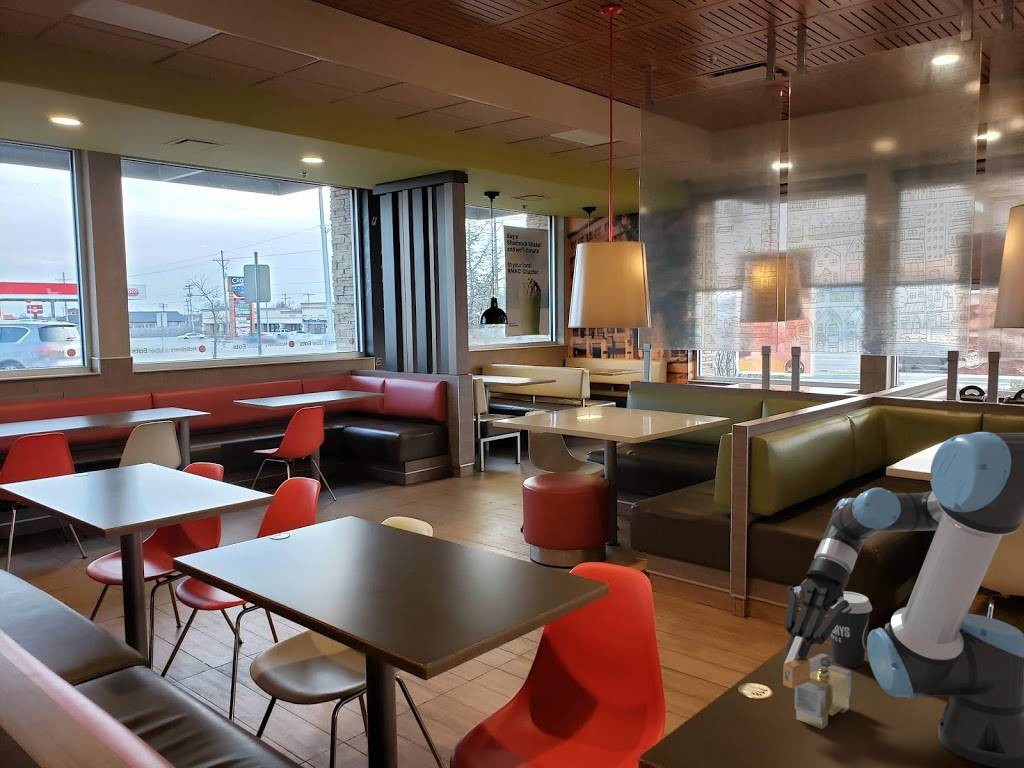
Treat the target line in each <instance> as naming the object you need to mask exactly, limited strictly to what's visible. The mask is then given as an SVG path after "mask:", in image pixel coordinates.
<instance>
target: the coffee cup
mask: <svg viewBox="0 0 1024 768" xmlns="http://www.w3.org/2000/svg"><path fill="white" fill-rule="evenodd" d="M843 595H844V600H847V601H848V603H849V604H850V606H851V608H852V610H851V611H850V612H849V613H847V614H846V615H844V616H843V617H842V619H841V620H840V621H839V623H838V624H837V625H836V627H835V628H834V630H833V631H832V632H831V634H830V638H831V639H830V640H831V649H832V650H831V651H832V658H833V659H832V661H834V662H835V663H836V664H838V665H840V664H841V665H840V666H843V665H845V666H844V667H848V666H850V667H849V668H857V667H858V666H859V667H862V666H863V665H864V663H865V662H864V661H865V654H866V648H867V639H868V630H869V621H870V619H869V618H870V612H872V610H873V607H872V605H871V602H870V599H869V597H867V596H866V595H864V594H861V593H858V592H854V591H845V590H844V591H843ZM835 606H836V604H835V605H834V606H832V607H831V608H829V610H828V613H829V614H830V612H831V611H832V609H833V608H834V607H835ZM859 667H858V668H859Z"/></svg>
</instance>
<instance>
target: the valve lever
mask: <svg viewBox="0 0 1024 768" xmlns="http://www.w3.org/2000/svg"><path fill="white" fill-rule="evenodd" d="M784 663H785V662H784ZM784 663H783V665H782V666H783V668H782V671H783V672H782V680H783V681H782V685H783V686H785V687H788V688H789V689H795V687H797V686H799V685H801V684H804V683H806V682H808V681H810V673H811V672H814V671H816V670H818V669H819V671H821V672H828V668H829V666H832V665H833V656H831V655H829V654H826V653H817V654H815V655H814V656H813V657H810V658H809V659H808V658H802V657H800V658H797V659H795V660H792V661H790V662H788V663H785V664H784Z"/></svg>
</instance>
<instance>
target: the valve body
mask: <svg viewBox="0 0 1024 768" xmlns="http://www.w3.org/2000/svg"><path fill="white" fill-rule="evenodd" d="M851 690H852V670H849V669H845V668H843V667H840V666H836V665H833V664H832V666H829V668H828V672H821V671H819V669H818V670H816V671H814V672H811V673H810V681H808V682H806V683H804V684H801V685H799V686H797V687H795V688H794V704H793V705H794V710H796V712H795V713H796V716H795V719H796V720H797V721H800V722H801V723H802V722H803V723H806V724H808V725H811V726H813V727H816V728H819V729H821V730H823V729H824V728H827V726H828V725H829V716H832V717H833V716H835V715H836V714H837V713H838V712H839V713H842V714H845V713H846V712H847V711H849V707H850V703H849V702H850V697H851V696H852V695H851V693H852V691H851Z"/></svg>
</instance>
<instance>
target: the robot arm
mask: <svg viewBox="0 0 1024 768" xmlns="http://www.w3.org/2000/svg"><path fill="white" fill-rule="evenodd" d="M929 474H930V475H931V476H932V477H931V479H930V486H931V490H929V491H927V492H913V493H910V492H909V493H907V492H906V493H905V492H904V493H893V491H890V490H888V489H885V488H883V487H873V488H870V489H868V490H866V491H863V493H860V494H858V496H856V497H848V498H846V497H844V498H841V499H840V500H839V501H838V502H837V504H836V506H835V508H833V510H832V512H831V516H830V517H831V518H830V519H829V522H828V524H827V526H826V529H825V531H824V534H823V536H822V538H821V541H820V543H819V546H818V547H817V549H816V552H815V554H814V559H813V560H812V561H811V564H810V565H809V566H810V567H809V568H808V571H807V574H806V577H805V579H804V580H803V581H801V583H800V585H799V586H798V585H797V586H795V587H793V585H788V586H787V587H786V588H787V589H786V590H787V593H788V600H787V606H786V615H785V621H784V622H785V623H784V629H785V631H786V632H787V634H788V635H790V637H789V640H788V643H787V645H786V652H787V653H788V654H787V657H786V658H785V661H784V663H783V664H785V663H788V662H790V661H792V660H795V659H797V658H800V657H802V658H805V659H807V657H808V654H809V652H810V650H811V648H812V645H814V644H815V645H816V644H818V645H820V646H821V645H822V646H823V644H824V643H825V642H826V641H827V640H828V638H829V636H831V632H832V631H833V630H834V628H835V627H836V625H837V624H838V623H839V621H840V620H841V619H842V617H843V616H844V615H846V614H847V613H849V612H850V611H851V610H852V608H851V606H850V604H849V603H848V601H847V600H844V595H843V591H845V590H846V587H847V585H848V582H849V580H850V575H851V573H852V572H853V569H854V567H855V564H856V561H857V559H858V556H859V554H860V552H861V549H862V547H863V544H864V543H865V541H866V540H867V539H869V538H871V537H872V536H874V535H876V534H878V533H893V532H897V533H898V532H899V533H900V532H916V531H917V532H918V531H919V532H924V531H928V532H929V531H932V532H933V531H935V532H934V535H933V537H932V541H931V543H930V546H929V549H928V551H927V553H926V556H925V559H924V561H923V564H922V565H921V569H920V571H919V574H918V577H917V579H916V582H915V584H914V587H913V589H912V591H911V594H910V597H909V599H908V602H907V605H906V606H905V607H901V608H900V609H898V610H896V611H895V612H894V613H893V615H892V616H891V619H890V621H889V622H888V623H889V626H888V627H887V628H886V629H885V628H882V627H878V628H875V629H872V630H871V631H869V633H868V634H867V638H866V650H867V651H866V652H867V657H868V660H869V665H870V668H871V671H872V673H873V676H874V678H875V679H876V681H877V683H878V684H879V686H880V688H882V689H883V691H885V693H887V694H888V695H890V696H893V697H895V698H897V697H898V698H908V699H913V698H918V697H937V696H938V697H939V696H940V697H943V696H949V699H948V701H947V704H945V708H944V710H943V712H942V715H941V718H940V719H939V722H938V728H937V729H938V730H937V733H938V734H937V737H938V740H939V742H940V743H941V745H943V747H944V748H945V749H947V750H948V751H950V752H951V753H953V754H954V755H957V756H959V757H960V758H963V759H965V760H968V761H970V762H972V763H976V764H979V765H983V766H987V767H992V768H1024V632H1023V631H1021V630H1020V629H1018V628H1017V627H1015V626H1013V625H1012V624H1009V623H1007V622H1004V621H1001V620H998V619H995V618H993V617H992V618H991V617H989V616H984V615H979V614H974V613H969V611H970V608H971V606H972V604H973V602H974V600H975V597H976V595H977V593H978V591H979V589H980V587H981V585H982V582H983V580H984V577H985V576H986V574H987V570H989V569H988V568H989V567H990V564H991V562H992V560H993V557H994V555H995V553H996V551H997V549H998V547H999V544H1000V542H1001V540H1002V537H1003V536H1007V535H1011V534H1013V533H1016V532H1017V530H1019V528H1020V527H1021V525H1022V522H1023V521H1024V432H998V433H997V432H996V433H995V432H994V433H993V432H989V431H977V432H972V433H967V434H966V433H964V434H963V433H962V434H958V435H954V436H952V437H950V438H949V439H947V440H945V441H944V442H943V443H942V444H941V445H940V446H939V447H938V449H937V451H936V452H935V453H934V456H933V458H932V461H931V465H930V473H929ZM802 595H803V601H802V606H801V609H800V611H799V604H800V603H799V602H800V601H799V599H801V596H802ZM835 604H836V606H835V607H834V608H833V609H832V611H831V612H830V613H829V608H831V607H832V606H834V605H835ZM798 611H799V613H798ZM828 613H829V614H828ZM827 614H828V615H827ZM824 618H825V619H824Z"/></svg>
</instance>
